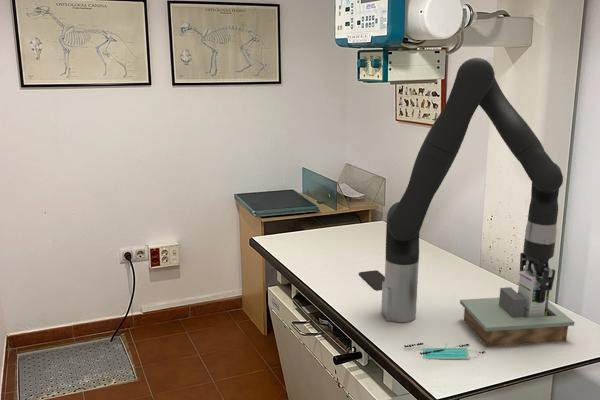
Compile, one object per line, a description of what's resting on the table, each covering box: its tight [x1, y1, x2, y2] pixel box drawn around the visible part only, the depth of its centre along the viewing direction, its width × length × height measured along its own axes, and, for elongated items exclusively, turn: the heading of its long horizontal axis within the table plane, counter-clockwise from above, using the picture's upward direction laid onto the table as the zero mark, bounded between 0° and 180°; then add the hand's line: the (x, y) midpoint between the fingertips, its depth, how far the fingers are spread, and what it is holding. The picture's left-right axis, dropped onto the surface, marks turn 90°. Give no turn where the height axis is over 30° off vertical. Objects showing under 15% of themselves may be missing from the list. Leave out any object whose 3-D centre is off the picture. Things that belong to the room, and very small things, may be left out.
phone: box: [358, 269, 385, 291], centre depth 196 cm, size 7×1×15 cm
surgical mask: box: [403, 342, 485, 361], centre depth 150 cm, size 21×4×10 cm
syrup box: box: [517, 270, 551, 318], centre depth 160 cm, size 6×6×14 cm
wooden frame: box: [463, 308, 569, 348], centre depth 161 cm, size 22×15×5 cm
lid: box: [459, 286, 576, 331], centre depth 160 cm, size 24×17×6 cm
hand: (533, 296), depth 160 cm, fingers closed on syrup box, 6 cm apart
